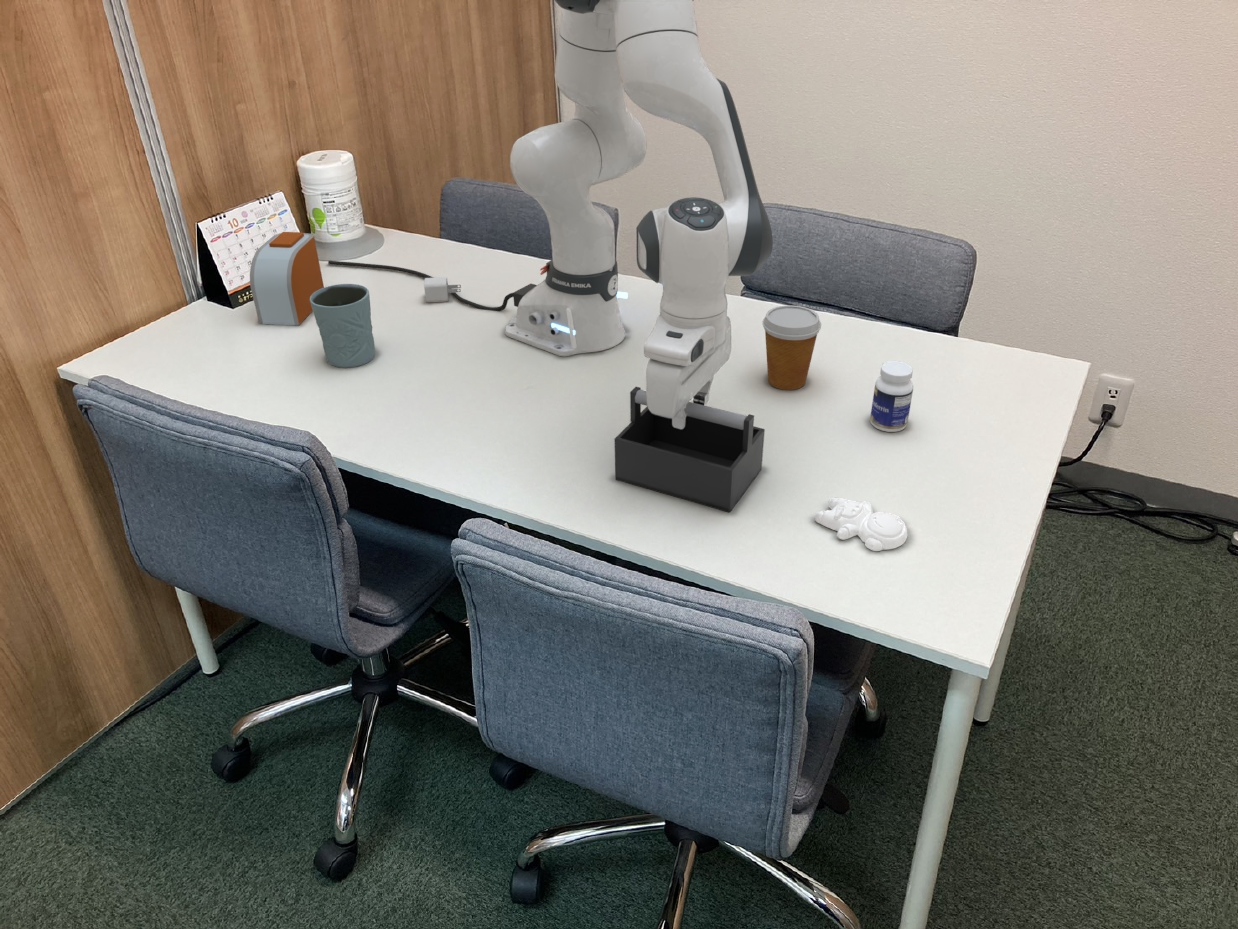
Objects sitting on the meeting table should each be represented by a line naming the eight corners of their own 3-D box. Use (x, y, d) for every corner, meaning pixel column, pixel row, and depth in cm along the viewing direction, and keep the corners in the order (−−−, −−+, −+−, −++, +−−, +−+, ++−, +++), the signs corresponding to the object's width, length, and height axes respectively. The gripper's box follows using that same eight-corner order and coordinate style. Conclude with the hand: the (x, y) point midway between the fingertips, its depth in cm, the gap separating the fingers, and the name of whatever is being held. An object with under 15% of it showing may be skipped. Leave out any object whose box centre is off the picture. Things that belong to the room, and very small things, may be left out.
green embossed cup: (338, 375, 172) (326, 311, 165) (311, 355, 178) (298, 293, 171) (390, 356, 177) (379, 294, 170) (362, 338, 184) (351, 277, 177)
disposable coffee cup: (814, 397, 163) (821, 331, 156) (756, 392, 164) (760, 326, 158) (816, 370, 170) (823, 306, 164) (760, 365, 172) (765, 302, 165)
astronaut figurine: (840, 496, 139) (842, 479, 137) (918, 530, 132) (921, 512, 131) (806, 525, 134) (808, 507, 132) (885, 561, 127) (888, 543, 125)
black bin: (614, 479, 144) (613, 407, 137) (651, 440, 152) (651, 371, 146) (730, 512, 136) (734, 439, 130) (762, 469, 145) (767, 398, 139)
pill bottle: (862, 419, 157) (870, 363, 151) (892, 411, 158) (901, 355, 153) (884, 436, 152) (893, 379, 147) (914, 428, 154) (924, 371, 149)
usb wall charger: (427, 295, 199) (424, 276, 197) (461, 293, 200) (459, 274, 198) (426, 303, 196) (423, 284, 194) (461, 301, 197) (459, 282, 194)
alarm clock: (289, 292, 202) (275, 228, 194) (329, 293, 201) (316, 229, 193) (257, 323, 190) (241, 256, 182) (299, 325, 189) (285, 258, 181)
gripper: (703, 291, 140) (700, 377, 148) (637, 351, 125) (637, 443, 133) (744, 300, 138) (739, 387, 145) (682, 361, 123) (680, 455, 130)
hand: (690, 414), depth 139 cm, fingers open, 5 cm apart
